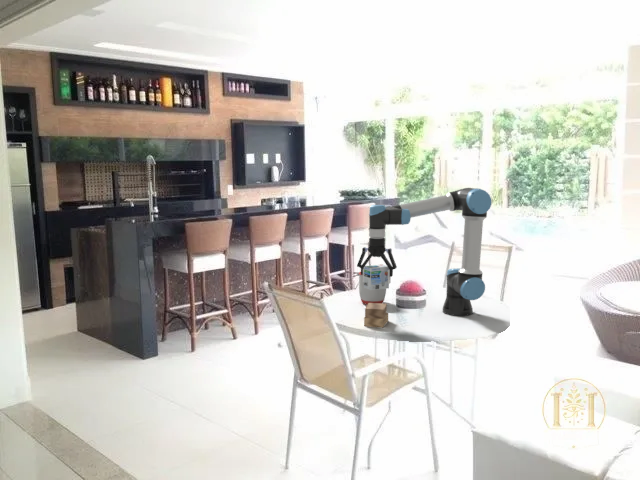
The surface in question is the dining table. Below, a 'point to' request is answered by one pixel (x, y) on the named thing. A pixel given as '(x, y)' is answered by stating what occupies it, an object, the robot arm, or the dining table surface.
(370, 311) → the tower top
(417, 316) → the dining table surface
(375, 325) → the tower base
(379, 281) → the light bulb box
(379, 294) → the citrus juicer
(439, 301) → the dining table surface
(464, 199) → the robot arm
